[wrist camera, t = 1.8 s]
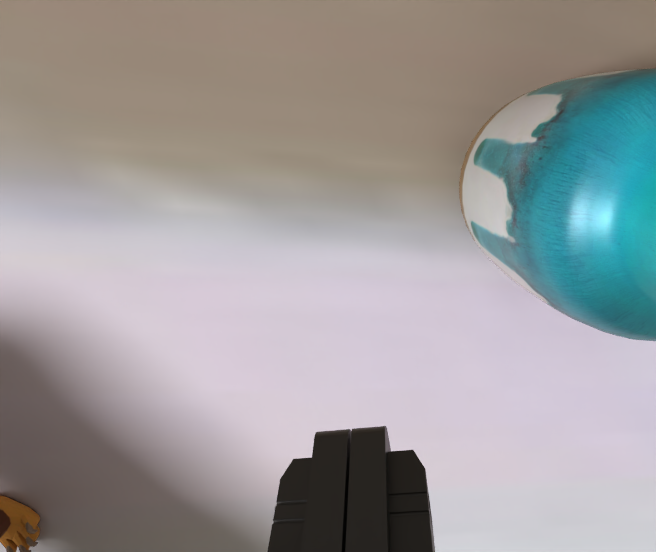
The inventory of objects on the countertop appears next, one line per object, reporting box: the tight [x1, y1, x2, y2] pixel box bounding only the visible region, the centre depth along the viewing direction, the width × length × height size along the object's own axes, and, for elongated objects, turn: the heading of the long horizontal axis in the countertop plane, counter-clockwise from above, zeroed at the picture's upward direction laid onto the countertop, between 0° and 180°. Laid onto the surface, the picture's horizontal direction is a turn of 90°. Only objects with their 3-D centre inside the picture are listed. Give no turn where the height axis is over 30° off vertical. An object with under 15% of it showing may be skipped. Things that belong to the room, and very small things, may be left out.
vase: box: [459, 68, 656, 341], centre depth 25 cm, size 11×11×19 cm
